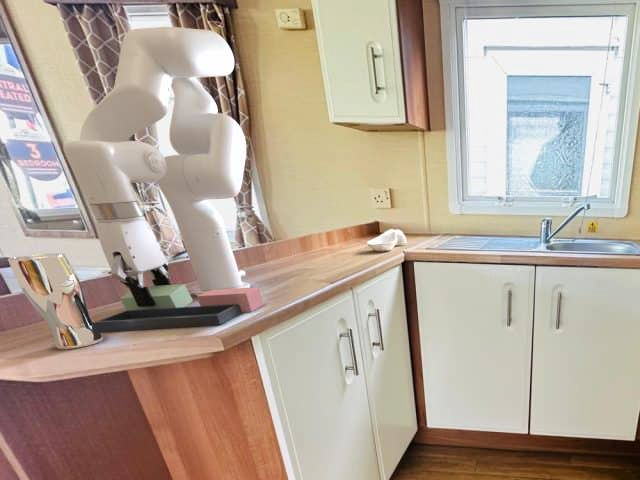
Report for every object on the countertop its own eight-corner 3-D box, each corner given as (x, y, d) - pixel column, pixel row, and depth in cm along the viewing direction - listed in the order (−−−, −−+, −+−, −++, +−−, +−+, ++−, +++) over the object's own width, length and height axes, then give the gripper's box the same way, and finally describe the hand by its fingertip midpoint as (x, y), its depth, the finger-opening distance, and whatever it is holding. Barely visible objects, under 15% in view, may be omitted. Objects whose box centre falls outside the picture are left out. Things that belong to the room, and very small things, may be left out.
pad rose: (218, 307, 95) (212, 289, 93) (263, 304, 96) (258, 287, 94) (203, 314, 90) (196, 296, 88) (251, 311, 90) (245, 293, 89)
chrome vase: (102, 334, 79) (63, 251, 73) (110, 341, 75) (69, 254, 68) (51, 345, 74) (4, 257, 68) (56, 353, 70) (6, 261, 64)
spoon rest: (389, 252, 167) (386, 233, 164) (362, 253, 170) (359, 234, 166) (414, 244, 188) (412, 227, 185) (390, 245, 190) (387, 228, 187)
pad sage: (146, 303, 95) (137, 286, 92) (192, 300, 95) (184, 283, 93) (129, 315, 90) (119, 298, 88) (178, 312, 91) (169, 295, 88)
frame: (130, 319, 88) (125, 310, 87) (242, 313, 90) (239, 303, 89) (96, 332, 80) (92, 322, 80) (220, 325, 82) (216, 315, 81)
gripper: (129, 209, 91) (164, 291, 99) (61, 218, 75) (109, 315, 84) (166, 207, 91) (198, 289, 99) (105, 216, 76) (149, 312, 84)
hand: (157, 300), depth 92 cm, fingers closed on pad sage, 6 cm apart
